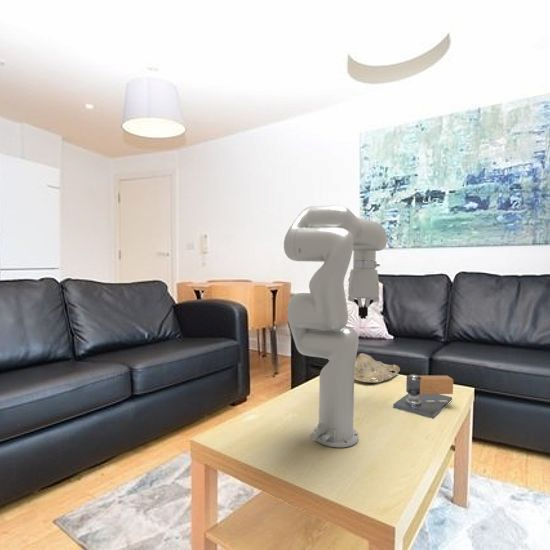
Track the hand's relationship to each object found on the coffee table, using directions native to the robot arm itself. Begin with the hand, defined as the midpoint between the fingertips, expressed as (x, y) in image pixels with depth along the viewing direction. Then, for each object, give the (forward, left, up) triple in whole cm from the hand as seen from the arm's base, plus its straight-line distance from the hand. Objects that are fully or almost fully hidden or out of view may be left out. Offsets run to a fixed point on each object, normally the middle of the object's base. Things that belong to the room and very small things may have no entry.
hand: (362, 318), depth 134 cm
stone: (+29, +9, -30) cm, 43 cm away
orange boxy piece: (+10, -20, -24) cm, 33 cm away
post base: (+11, -18, -29) cm, 36 cm away
